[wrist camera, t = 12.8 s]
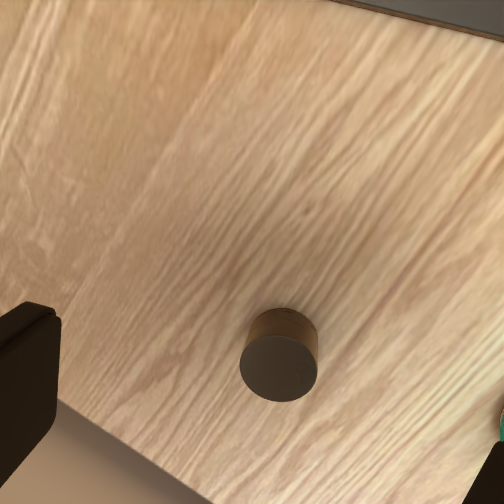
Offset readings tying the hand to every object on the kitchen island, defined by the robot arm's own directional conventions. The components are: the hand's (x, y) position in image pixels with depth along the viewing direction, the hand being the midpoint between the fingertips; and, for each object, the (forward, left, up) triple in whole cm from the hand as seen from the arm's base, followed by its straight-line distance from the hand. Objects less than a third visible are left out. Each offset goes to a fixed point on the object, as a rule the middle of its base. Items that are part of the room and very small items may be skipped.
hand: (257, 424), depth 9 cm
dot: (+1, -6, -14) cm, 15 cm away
